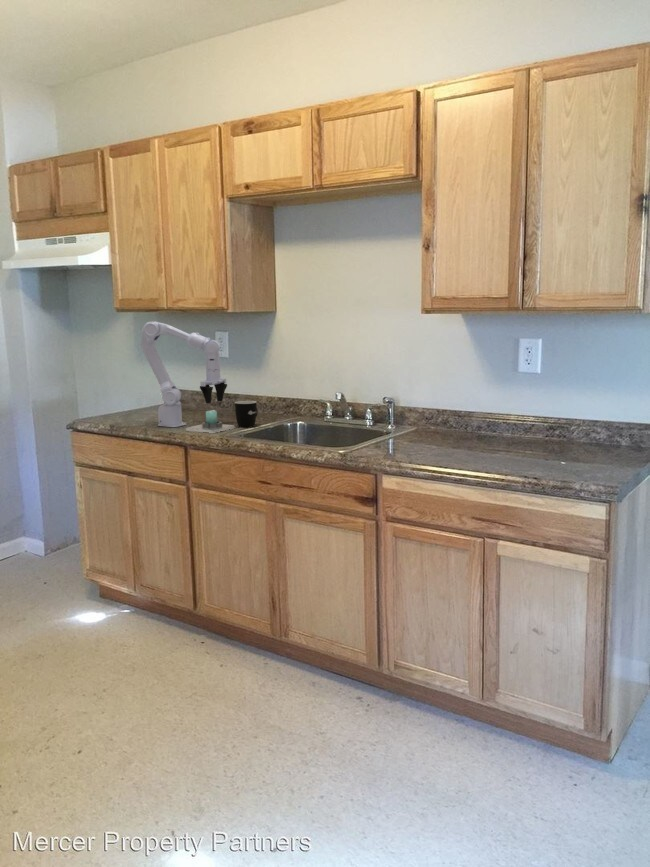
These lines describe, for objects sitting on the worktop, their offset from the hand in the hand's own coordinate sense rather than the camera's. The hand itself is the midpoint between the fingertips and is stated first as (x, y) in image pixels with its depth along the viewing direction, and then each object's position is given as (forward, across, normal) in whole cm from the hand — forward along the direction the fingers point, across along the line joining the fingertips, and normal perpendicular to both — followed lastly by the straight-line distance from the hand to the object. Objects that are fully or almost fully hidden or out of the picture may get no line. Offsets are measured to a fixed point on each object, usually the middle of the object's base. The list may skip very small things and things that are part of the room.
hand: (214, 402), depth 302 cm
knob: (+9, -8, -5) cm, 13 cm away
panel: (+10, -9, -5) cm, 14 cm away
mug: (+10, +6, -13) cm, 18 cm away
